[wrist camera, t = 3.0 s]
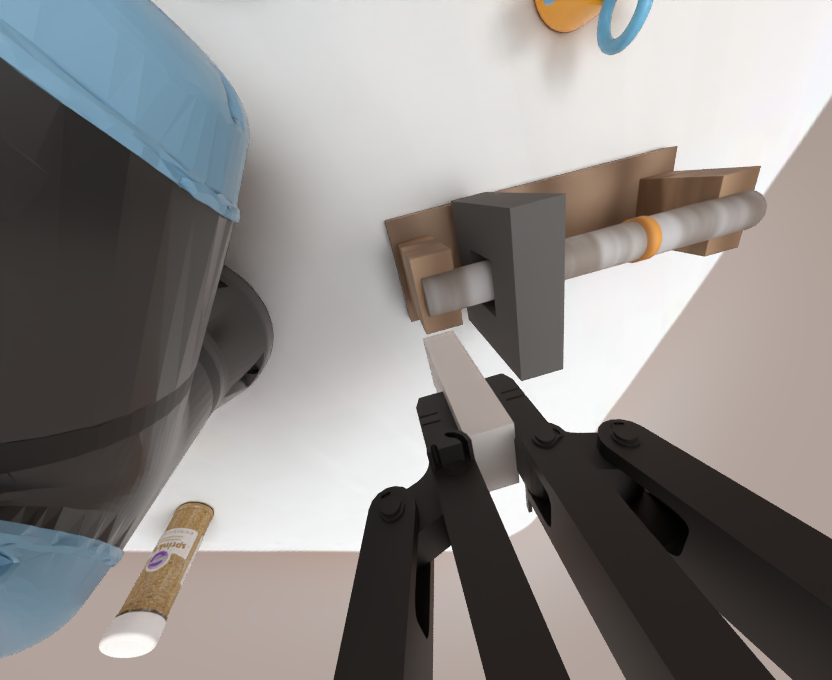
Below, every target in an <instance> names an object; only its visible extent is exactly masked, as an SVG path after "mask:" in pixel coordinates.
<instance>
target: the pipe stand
mask: <svg viewBox="0 0 832 680" xmlns="http://www.w3.org/2000/svg"><path fill="white" fill-rule="evenodd" d="M676 152H677V146H675V147H667V148H661V149H658V150H654V151H650V152H646V153H642V154H638V155H635V156H631V157H627V158H623V159H619V160H615V161H611V162H608V163H604V164H600V165H596V166H592V167H588V168H585V169H581V170H577V171H573V172H569V173H565V174H561V175H558V176H554V177H550V178H546V179H542V180H538V181H534V182H531V183H527V184H523V185H519V186H515V187H511V188H508V189H504V190H500V191H496V192H506V193H565V194H566V213H565V278H564V280H566V279H570V278H574V277H577V276H581V275H584V274H588V273H592V272H595V271H599V270H602V269H606V268H610V267H613V266H617V265H620V264H624V263H628V262H629V263H635V262H638V261H642V260H646V259H649V258H651V257H653V256H654V255H656V254H660V253H664V252H667V251H671V250H674V251H679V252H684V253H689V254H695V255H700V256H708V255H712V254H715V253H719V252H723V251H726V250H730V249H733V248H737V247H738V245H739V241H740V238H741V234H742V231H743V230H746V229H749V228H752V227H753V226H755V225H756V224H758V223H759V222H760V221H761V220H762V218H763V217H764V215H765V212H766V207H767V205H766V200H765V198H764V197H763V195H762V194H760V193H759V192H757V191H754V189H755V185H756V182H757V178H758V175H759V171H760V168H761V166H752V167H736V168H719V169H702V170H686V171H673V170H674V164H675V158H676ZM385 222H386V226H387V230H388V234H389V238H390V242H391V246H392V250H393V254H394V258H395V262H396V266H397V270H398V273H399V277H400V281H401V285H402V289H403V293H404V297H405V301H406V305H407V309H408V313H409V317H410V319H411V322H413V321H416V320H420V321H421V323H422V326H423V328H424V330H425V332H426V334H430V333H434V332H438V331H441V330H445V329H448V328H452V327H455V326H459V325H462V324H463V322H462V315H461V309H462V308H466V307H469V306H473V305H477V304H480V303H484V302H487V301H491V300H495V298H494V288H493V279H492V269H491V260H489V259H488V260H484V261H481V262H477V263H473V264H470V265H466V266H462V267H461V264H460V258H459V251H458V245H457V238H456V231H455V225H454V218H453V212H452V205H451V203H450V204H446V205H442V206H438V207H434V208H431V209H427V210H423V211H419V212H415V213H411V214H408V215H404V216H400V217H396V218H392V219H388V220H385Z"/></svg>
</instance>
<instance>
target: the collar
mask: <svg viewBox="0 0 832 680" xmlns="http://www.w3.org/2000/svg"><path fill="white" fill-rule="evenodd" d="M451 205H452V212H453V218H454V225H455V231H456V238H457V245H458V251H459V258H460V264H461V267H462V266H466V265H470V264H473V263H477V262H481V261H484V260H488V259H489V260H491V269H492V279H493V288H494V298H495V300H491V301H487V302H484V303H480V304H477V305H473V306H469V307H467V311H468V317H469V320H470V321H471V322H472V324H473V325H474V326H475V327H476V328H477V330H478V331H479V332H480V333H481V334H482V335H483V337H484V338H485V339H486V340H487V341H488V342H489V344H490V345H491V346H492V347H493V348H494V349H495V351H496V352H497V353H498V354H499V355H500V357H501V358H502V359H503V360H504V361H505V362H506V364H507V365H508V366H509V367H510V368H511V369H512V371H513V372H514V373H515V374H516V375H517V377H518V378H519V379H520V380H521V381H524V380H527V379H530V378H534V377H537V376H541V375H544V374H548V373H551V372H554V371H558V370H561V369H563V343H564V278H565V213H566V194H565V193H506V192H484V193H480V194H476V195H473V196H469V197H465V198H461V199H457V200H453V201H451Z"/></svg>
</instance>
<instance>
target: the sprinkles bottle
mask: <svg viewBox="0 0 832 680" xmlns="http://www.w3.org/2000/svg"><path fill="white" fill-rule="evenodd" d="M212 519H213V511H212V509H211V508H210V507H208V506H206V505H204V504H201V503H188V504H184V505H181V506H180V507H179V508H178V509H177V510H176V511H175V513H174V516H173V518H172V520H171V522H170V523H169V525H168V527H167V529H166V531H165V532H164V533H163V535H162V536H161V538H160V540H159V541H158V543H157V545H156V547H155V548H154V550H153V552H152V554H151V555H150V557H149V559H148V561H147V563H146V565H145V567H144V569H143V570H142V573H141V574H140V576H139V578H138V579H137V581H136V583H135V585H134V587H133V589H132V591H131V592H130V594H129V596H128V598H127V599H126V601H125V603H124V605H123V606H122V609H121V610H120V612H119V613H118V614H117V616H116V617H115V619H113V620H112V622H111V623H110V625H109V627H108V629H107V630H106V632H105V634H104V636H103V638H102V639H101V641H100V644H99V649H100V651H101V652H102V653H103V654H105V655H108V656H111V657H116V658H130V657H137V656H141V655H144V654H146V653H148V652H150V651H151V650H153V649H154V647H155V646H156V644H157V642H158V640H159V638H160V636H161V634H162V632H163V630H164V627H165V625H166V620H167V615H168V614H169V612H170V609H171V607H172V605H173V603H174V601H175V599H176V597H177V594H178V592H179V590H180V589H181V587H182V585H183V583H184V581H185V578H186V576H187V574H188V572H189V569H190V567H191V565H192V563H193V560H194V558H195V556H196V553H197V551H198V549H199V547H200V545H201V542H202V540H203V536H204V534H205V532H206V530H207V528H208V525H209V523H210V521H211V520H212Z"/></svg>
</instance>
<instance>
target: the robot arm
mask: <svg viewBox="0 0 832 680" xmlns="http://www.w3.org/2000/svg"><path fill="white" fill-rule="evenodd" d="M248 145H249V126H248V121H247V117H246V113H245V110H244V108H243V105H242V103H241V101H240V99H239V97H238V96H237V94H236V92H235V90H234V89H233V87H232V86H231V84H230V83H229V81H228V80H227V78H226V77H225V76H224V75H223V73H222V72H221V71H220V70H219V69H218V67H217V66H216V65H215V64H214V63H213V62H212V61H211V60H210V58H209V57H208V56H207V55H206V54H205V53H204V52H203V51H202V50H201V49H200V48H199V47H198V45H197V44H196V43H195V42H194V41H193V40H192V39H191V38H190V37H189V36H188V35H187V34H186V33H185V32H184V31H183V30H182V29H181V28H180V27H179V26H177V25H176V24H175V23H174V22H173V21H172V20H171V19H170V18H169V17H168V16H167V15H166V14H165V13H164V12H163V11H162V10H161V9H159V8H158V7H157V6H156V5H155V4H154V3H153V2H152V1H151V0H0V658H3V657H6V656H9V655H13V654H15V653H18V652H20V651H22V650H25V649H27V648H29V647H32V646H33V645H35V644H37V643H39V642H41V641H43V640H44V639H46V638H48V637H49V636H51V635H52V634H54V633H55V632H56V631H58V630H59V629H60V628H61V627H63V626H64V625H65V624H66V623H67V622H68V621H69V620H70V619H71V618H72V617H73V616H74V615H75V614H76V613H77V612H78V611H79V610H80V608H81V607H82V606H83V604H84V603H85V602H86V600H87V599H88V598H89V596H90V595H91V594H92V592H93V591H94V589H95V588H96V587H97V585H98V584H99V583H100V581H101V580H102V579H103V577H104V576H105V575H106V573H107V572H108V571H109V569H110V568H111V567H114V566H115V565H116V564H118V563H119V561H120V560H121V558H122V556H123V554H124V551H123V548H124V547H125V545H126V544H127V542H128V540H129V539H130V537H131V536H132V534H133V533H134V531H135V530H136V528H137V527H138V525H139V524H140V522H141V521H142V519H143V518H144V516H145V514H146V513H147V511H148V510H149V508H150V507H151V505H152V504H153V502H154V501H155V499H156V498H157V496H158V495H159V493H160V492H161V490H162V488H163V487H164V485H165V484H166V482H167V481H168V479H169V478H170V476H171V475H172V473H173V472H174V470H175V469H176V467H177V466H178V464H179V462H180V461H181V459H182V458H183V456H184V455H185V453H186V452H187V450H188V449H189V447H190V446H191V444H192V443H193V441H194V440H195V438H196V436H197V435H198V433H199V432H200V430H201V429H202V427H203V426H204V424H205V423H206V421H207V419H208V418H209V416H210V415H211V413H212V412H213V411H214V410H216V409H217V408H219V407H220V406H222V405H223V404H225V403H226V402H228V401H229V400H231V399H232V398H234V397H235V396H237V395H238V394H240V393H241V392H243V391H244V390H245V389H247V388H248V387H249V386H250V385H251V384H252V383H253V382H254V381H255V380H256V379H257V378H258V376H259V375H260V373H261V372H262V370H263V368H264V366H265V364H266V363H267V361H268V359H269V356H270V354H271V350H272V345H273V329H272V323H271V320H270V317H269V314H268V312H267V310H266V307H265V306H264V304H263V302H262V301H261V299H260V298H259V296H258V295H257V294H256V292H255V291H254V290H253V289H252V288H251V287H250V286H249V284H248V283H246V282H245V281H244V280H243V279H242V278H241V277H240V276H238V275H237V274H236V273H234V272H233V271H232V270H230V269H229V268H227V267H225V266H224V265H223V264H224V260H225V256H226V252H227V249H228V245H229V241H230V237H231V234H232V230H233V226H234V222H236V223H239V220H240V210H239V208H238V206H237V204H238V197H239V192H240V187H241V181H242V176H243V171H244V166H245V161H246V155H247V150H248ZM423 340H424V345H425V349H426V353H427V357H428V361H429V365H430V370H431V374H432V378H433V382H434V385H435V388H436V390H437V393H435V394H432V395H428V396H425V397H421V398H419V400H418V403H417V407H416V409H417V413H418V417H419V421H420V425H421V428H422V432H423V436H424V440H425V444H426V448H427V456H428V459H429V466H428V469H427V471H426V473H425V475H424V476H423V477H422V478H421V479H420V480H419V481H418V482H417V483H415V484H414V485H412V486H411V487H409V488H408V489H406V488H404V487H398V486H394V487H390V488H386V489H385V490H383V491H382V492H380V493H379V494H378V495H377V496H376V497H375V498H374V500H373V501H372V503H371V505H370V508H369V511H368V516H367V521H366V526H365V530H364V535H363V540H362V545H361V550H360V555H359V559H358V565H357V569H356V574H355V579H354V584H353V588H352V593H351V598H350V603H349V608H348V613H347V617H346V623H345V627H344V632H343V637H342V642H341V646H340V651H339V656H338V661H337V666H336V670H335V675H334V680H433V608H434V558H436V557H437V556H438V555H439V554H441V553H442V552H443V551H444V550H446V549H447V548H448V547H450V546H452V550H453V554H454V557H455V561H456V565H457V569H458V573H459V576H460V580H461V584H462V588H463V592H464V596H465V600H466V604H467V607H468V611H469V615H470V619H471V623H472V626H473V630H474V634H475V638H476V642H477V646H478V649H479V653H480V658H481V661H482V665H483V669H484V673H485V677H486V680H570V678H569V676H568V673H567V671H566V669H565V667H564V664H563V662H562V660H561V657H560V655H559V653H558V650H557V648H556V646H555V643H554V641H553V639H552V637H551V634H550V632H549V629H548V627H547V625H546V622H545V620H544V618H543V616H542V613H541V611H540V609H539V606H538V604H537V602H536V599H535V597H534V595H533V592H532V590H531V588H530V585H529V583H528V581H527V578H526V576H525V574H524V572H523V569H522V567H521V565H520V562H519V560H518V558H517V555H516V553H515V551H514V548H513V546H512V544H511V541H510V539H509V537H508V534H507V532H506V530H505V527H504V525H503V523H502V521H501V518H500V516H499V514H498V511H497V509H496V507H495V504H494V502H493V500H492V497H491V495H490V493H489V492H490V491H493V490H496V489H500V488H503V487H506V486H509V485H513V484H516V483H519V474H520V476H521V478H522V480H523V481H524V483H525V488H526V501H527V508H528V511H529V512H532V507H533V509H534V510H535V512H536V514H537V516H538V518H539V519H540V521H541V523H542V525H543V527H544V529H545V531H546V533H547V534H548V536H549V538H550V540H551V542H552V544H553V545H554V547H555V549H556V551H557V553H558V555H559V557H560V558H561V560H562V562H563V564H564V566H565V568H566V569H567V571H568V573H569V575H570V577H571V579H572V581H573V582H574V584H575V586H576V588H577V590H578V592H579V593H580V595H581V597H582V599H583V601H584V603H585V604H586V606H587V608H588V610H589V612H590V614H591V616H592V617H593V619H594V621H595V623H596V625H597V627H598V629H599V630H600V632H601V634H602V636H603V638H604V640H605V641H606V643H607V645H608V647H609V649H610V651H611V652H612V654H613V656H614V658H615V660H616V662H617V664H618V665H619V667H620V669H621V670H622V673H623V675H624V677H625V678H626V680H776V679H775V678H774V677H773V676H772V675H771V674H770V672H769V671H768V670H767V669H766V668H765V666H764V665H763V664H762V663H761V662H760V661H759V659H758V658H757V657H756V656H755V655H754V653H753V652H752V651H751V650H750V649H749V648H748V647H747V645H746V644H745V643H744V642H743V640H742V639H741V638H740V637H739V636H738V635H737V634H736V632H735V631H734V630H733V629H732V628H731V627H730V625H729V624H728V623H727V622H726V620H725V619H724V618H723V617H725V618H726V619H727V620H728V621H729V622H730V623H731V624H733V626H734V627H736V628H737V629H738V630H739V631H740V632H741V633H742V634H743V635H744V636H745V637H747V638H748V639H749V640H750V641H751V642H752V643H753V644H754V645H755V646H756V647H757V648H759V649H760V650H761V651H762V652H763V653H764V654H765V655H766V656H767V657H768V658H770V659H771V660H772V661H773V662H774V663H775V664H776V665H777V666H778V667H780V668H781V669H782V670H783V671H784V672H785V673H786V674H787V675H788V676H789V677H790V678H791V679H793V680H832V539H831V538H829V537H828V536H826V535H824V534H823V533H821V532H819V531H817V530H816V529H814V528H812V527H811V526H809V525H807V524H805V523H804V522H802V521H801V520H799V519H797V518H796V517H794V516H792V515H790V514H789V513H787V512H785V511H784V510H782V509H780V508H779V507H777V506H775V505H774V504H772V503H770V502H769V501H767V500H765V499H763V498H762V497H760V496H758V495H757V494H755V493H753V492H751V491H750V490H748V489H747V488H745V487H743V486H742V485H740V484H738V483H737V482H735V481H733V480H732V479H730V478H728V477H726V476H725V475H723V474H721V473H720V472H718V471H716V470H715V469H713V468H711V467H710V466H708V465H706V464H705V463H703V462H701V461H700V460H698V459H696V458H694V457H693V456H691V455H689V454H688V453H686V452H684V451H683V450H681V449H679V448H678V447H676V446H674V445H672V444H671V443H669V442H667V441H666V440H664V439H662V438H660V437H659V436H657V435H656V434H654V433H652V432H651V431H649V430H647V429H645V428H644V427H642V426H640V425H638V424H636V423H633V422H631V421H626V420H621V419H617V420H609V421H606V422H603V423H602V424H601V425H600V426H599V428H598V433H570V432H566V431H564V430H563V429H562V428H560V427H559V426H557V425H554V424H552V423H548V422H547V421H546V420H545V418H544V417H543V416H542V415H541V413H540V412H539V411H538V410H537V408H536V407H535V406H534V405H533V404H532V402H531V401H530V400H529V399H528V397H527V396H525V394H524V392H523V391H522V390H521V389H520V388H519V386H518V385H517V384H516V383H515V381H514V380H513V379H512V378H510V377H508V376H506V375H504V374H498V375H495V376H491V377H488V378H484V377H483V375H482V374H481V372H480V371H479V369H478V368H477V366H476V365H475V363H474V362H473V360H472V359H471V357H470V356H469V354H468V353H467V351H466V350H465V348H464V347H463V345H462V344H461V342H460V341H459V339H458V338H457V336H456V335H455V333H454V332H453V331H449V332H446V333H442V334H439V335H435V336H431V337H428V338H424V339H423ZM518 472H519V473H518ZM721 615H722V616H723V617H722V616H721Z"/></svg>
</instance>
